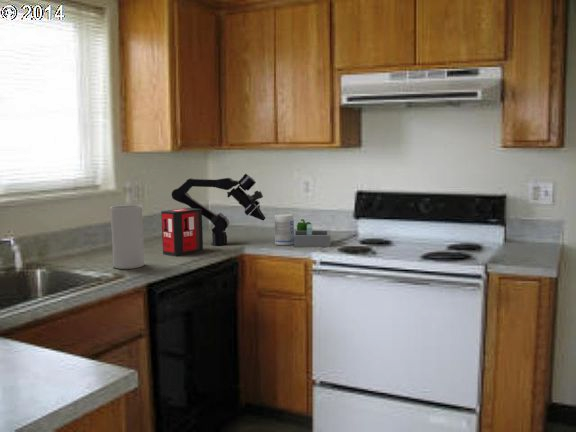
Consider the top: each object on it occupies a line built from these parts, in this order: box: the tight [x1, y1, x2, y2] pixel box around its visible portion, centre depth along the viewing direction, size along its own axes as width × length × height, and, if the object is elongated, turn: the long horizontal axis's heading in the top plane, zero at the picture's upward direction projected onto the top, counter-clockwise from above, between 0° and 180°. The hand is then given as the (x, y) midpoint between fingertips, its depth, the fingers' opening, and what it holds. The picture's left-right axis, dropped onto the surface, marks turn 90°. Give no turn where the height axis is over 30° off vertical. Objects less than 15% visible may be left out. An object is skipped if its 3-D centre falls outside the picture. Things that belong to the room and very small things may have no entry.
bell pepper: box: [296, 218, 312, 231], centre depth 322 cm, size 8×8×10 cm
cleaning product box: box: [160, 207, 204, 257], centre depth 282 cm, size 16×9×20 cm, turn 139°
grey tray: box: [293, 230, 331, 248], centre depth 300 cm, size 18×17×6 cm
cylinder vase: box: [110, 204, 145, 270], centre depth 251 cm, size 12×12×25 cm
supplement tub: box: [274, 213, 295, 246], centre depth 300 cm, size 10×10×15 cm
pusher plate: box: [307, 223, 313, 235], centre depth 300 cm, size 2×13×9 cm, turn 177°
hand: (264, 219), depth 300 cm, fingers open, 4 cm apart
